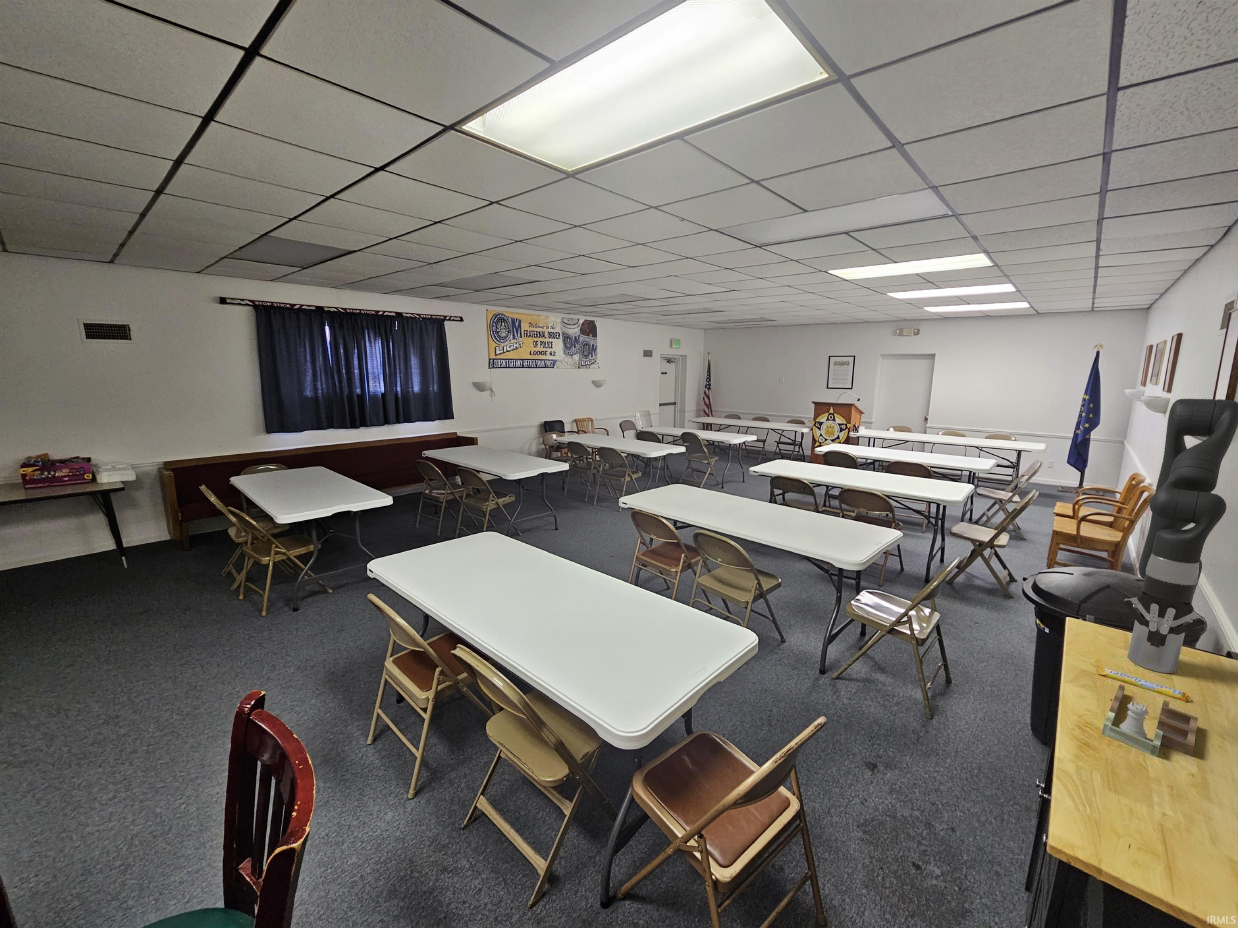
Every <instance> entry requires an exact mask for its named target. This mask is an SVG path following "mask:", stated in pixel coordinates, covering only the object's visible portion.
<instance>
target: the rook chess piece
mask: <svg viewBox="0 0 1238 928" xmlns="http://www.w3.org/2000/svg"><path fill="white" fill-rule="evenodd" d="M1127 708H1128V709H1129V710H1128V711H1127V717H1126V719H1125V720H1124V721H1123V722H1122V723H1120V724H1119V726H1118V728H1119V729H1121V730H1124V731H1126V732H1129V733H1131V734H1134V735H1136V736H1139V737H1141V738H1144V739H1146V740H1148V739H1147V736H1148V734H1147V733H1146V730H1145V729H1144V728H1145V727H1144V722H1145V720H1146V719H1147V718H1146V716H1147V715H1149V713H1150V712H1149V711H1148V707H1147V706H1145V705H1144V704H1142V703H1140V704H1139V702H1138V701H1137V702H1136V701H1130V703H1128V704H1127Z"/></svg>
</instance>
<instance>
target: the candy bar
mask: <svg viewBox="0 0 1238 928" xmlns="http://www.w3.org/2000/svg"><path fill="white" fill-rule="evenodd" d="M1095 671H1096V673H1097V674H1098V675H1100V676H1101V675H1102V676H1104V677H1106V678H1109V679H1112V680H1115V681H1118V682H1122V683H1124V684H1127V685H1130V686H1134V687H1138V688H1141V689H1143V690H1147V691H1150V692H1153V693H1156V694H1160V695H1162V696H1164V697H1165V696H1166V697H1168V698H1172V699H1175V700H1179V701H1182V702H1190V701H1191V698H1190V696H1189V695H1188V692H1187V691H1181V690H1177V689H1174V688H1171V687H1167V686H1163V685H1160V684H1158V683H1154V682H1150V681H1148V680H1143V679H1141V678H1137V677H1136V676H1135V677H1134V676H1132V675H1128V674H1125V673H1123V672H1119V671H1117V670H1113V669H1109V668H1104V667H1101V666H1100V665H1097V669H1096V670H1095Z"/></svg>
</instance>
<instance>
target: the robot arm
mask: <svg viewBox="0 0 1238 928" xmlns="http://www.w3.org/2000/svg"><path fill="white" fill-rule="evenodd" d="M1166 424H1167V425H1166V432H1165V433H1166V434H1165V442H1164V450H1163V451H1164V452H1163V458H1162V463H1161V467H1160V470H1159V474H1158V475H1159V476H1158V479H1157V483H1156V487H1155V492H1154V494H1153V495H1152V496H1151V499H1150V500H1149V510H1150V511H1151V517H1150V524H1149V526H1148V527H1149V528H1148V531H1147V536H1146V539H1145V543H1144V545H1143V550H1142V553H1141V557H1140V559H1139V563H1138V564H1139V565H1138V574H1139V577H1140V578H1141V579H1143V584H1142V588H1141V592H1139V593H1138V594H1137V596H1136V597H1132V598H1129V597H1127V598H1124V600H1123V606H1125V607H1126V609H1127V610H1128V611H1129V613H1130V614H1131V616H1132V617H1133V618H1134V619H1135V620H1134V624H1133V630H1132V634H1131V638H1130V641H1129V642H1130V643H1129V647H1128V653H1127V659H1129V661H1131V662H1132V663H1134V664H1135V665H1137V666H1140V667H1142V668H1145V669H1147V670H1149V671H1150V670H1151V671H1154V672H1158V673H1162V674H1163V673H1164V674H1173V673H1174V674H1175V673H1176V671H1177V668H1178V664H1179V660H1180V655H1181V651H1182V646H1183V644H1184V643H1183V642H1184V639H1185V634H1186V633H1187V632H1189V631H1191V630H1195V629H1197V628H1200V627H1201V626H1204V625H1205V623H1206V618H1205V617H1204V616H1201V615H1198V613H1196V612H1195V611H1194V606H1193V605H1192V603H1193V600H1194V596H1195V592H1196V590H1197V586H1198V583H1199V581H1200V577H1201V574H1202V570H1203V562H1202V560H1201V558H1202V553H1203V549H1204V546H1205V543H1206V541H1207V538H1208V537H1209V535H1210V534H1211V532H1212V531H1213V529H1214V528H1215V527H1216V526H1217V525H1218V523H1219V522H1220V520H1221V519H1222V518H1223V517H1224V515H1225V514H1226V512H1227V502H1226V500H1225V498H1223V497H1222V496H1221V495H1219V494H1218V493H1217V494H1216V493H1212V492H1213V491H1215V489H1216V488H1217V484H1218V480H1219V476H1220V475H1219V474H1220V471H1221V470H1220V468H1221V467H1222V466H1221V465H1222V462H1223V459H1224V457H1225V456H1226V454H1227V451H1228V450H1229V448H1230V446H1231V443H1232V441H1233V439H1234V437H1235V434H1236V432H1237V429H1238V401H1235V400H1231V399H1220V398H1219V399H1215V398H1214V399H1212V398H1180V399H1177V400H1175V401H1174V402H1173V403H1172V405H1171V406H1170V408H1169V414H1168V417H1167V423H1166ZM1187 436H1188V437H1202V438H1203V437H1205V438H1206V439H1204V440H1202V441H1200V442H1198V443H1197V444H1194V445H1192V446H1189V448H1187V445H1186V441H1185V437H1187ZM1191 524H1194V525H1193V526H1192V527H1189V528H1187V527H1188V526H1189V525H1191ZM1184 528H1185V529H1184Z"/></svg>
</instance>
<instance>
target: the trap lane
mask: <svg viewBox="0 0 1238 928" xmlns="http://www.w3.org/2000/svg"><path fill="white" fill-rule="evenodd" d="M1125 689H1126V686H1125V685H1123V684H1119V685H1118V688H1117V690H1116V693H1115V696H1114V698H1113V700H1112V703H1111V706H1110V708H1109V710H1108V713H1107V715H1106V718H1105V720H1104V723H1103V726H1102V730H1101V735H1104V736H1106V737H1108V738H1111V739H1114V740H1115V741H1118V742H1119V743H1123V744H1126V745H1127V746H1130V747H1132V748H1134V749H1137V750H1140V751H1142V752H1144V753H1147V754H1149V755H1151V756H1153V757H1156V758H1158V755H1159V751H1160V747H1161V745H1163V746H1164V747H1168V748H1170V749H1171V750H1175V751H1177V752H1179V753H1183V754H1185V755H1187V756H1189V757H1192V756H1193V752H1194V748H1195V743H1196V742H1195V740H1196V734H1197V727H1198V720H1199V718H1198V717H1197V716H1195V715H1191V714H1188V713H1185V712H1182V711H1180V710H1177V709H1174V708H1172V707H1170V704H1171V702H1170V701H1168V700H1166V699H1163V701H1162V706H1161V707H1160V709H1161V710H1160V714H1159V717H1158V721H1157V725H1156V730H1155V733H1154V736H1153V741H1151V740H1150V739H1149V740H1148V739H1147V738H1146V739H1147V740H1146V739H1144V738H1141V737H1139V736H1136V735H1134V734H1131V733H1129V732H1126V731H1124V730H1121V729H1119V728H1120V727H1116V726H1115V725H1113V724H1114V721H1115V718H1116V716H1117V713H1118V710H1119V708H1120V706H1121V703H1122V699H1123V697H1124V693H1125Z"/></svg>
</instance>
